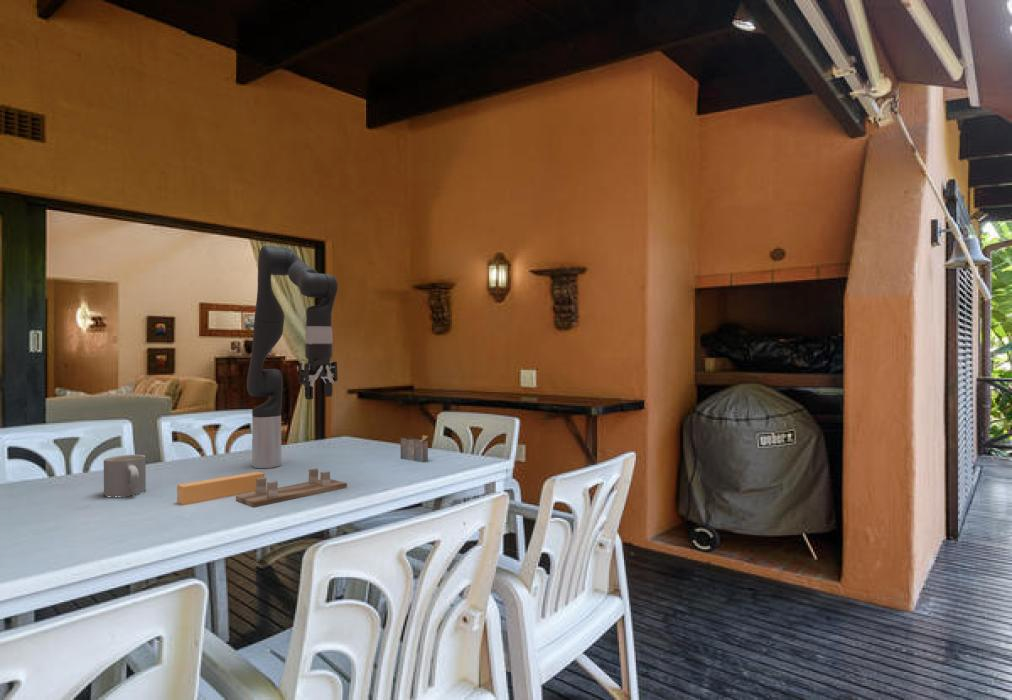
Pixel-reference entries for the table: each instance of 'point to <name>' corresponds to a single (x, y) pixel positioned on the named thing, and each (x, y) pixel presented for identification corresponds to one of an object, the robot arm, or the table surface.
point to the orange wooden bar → (217, 488)
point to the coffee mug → (124, 475)
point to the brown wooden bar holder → (290, 489)
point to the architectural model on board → (414, 449)
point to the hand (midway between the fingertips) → (318, 397)
